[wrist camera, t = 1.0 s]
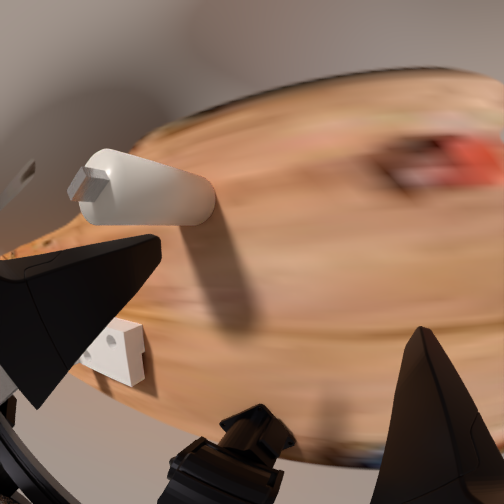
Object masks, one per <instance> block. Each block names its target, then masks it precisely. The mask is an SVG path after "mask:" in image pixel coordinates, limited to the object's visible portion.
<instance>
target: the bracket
mask: <svg viewBox="0 0 504 504" xmlns="http://www.w3.org/2000/svg"><path fill="white" fill-rule="evenodd" d="M143 352H145V347H144V338H143V328H142V324H138V323H134V322H131V321H127V320H123V319H119V318H116V317H114V319H113V320H112V321H111V322H110V323H109V324H108V325H107V326H106V328H105V329H104V330H103V331H102V332H101V333H100V334H99V336H98V337H97V338H96V339H95V340H94V341H93V343H92V344H91V345H90V346H89V347H88V348H87V350H86V351H85V352H84V353H83V354H82V355H81V357H80V358H79V359H78V360H77V361H76V363H75V364H78V363H81V364H83V365H85V366H87V367H89V368H91V369H93V370H95V371H97V372H99V373H101V374H103V375H106V376H108V377H110V378H112V379H114V380H116V381H119V382H121V383H123V384H126V385H128V386H130V387H133V386H134V385H136V384H137V383H139V382H141V381H142V380H144V379H145V376H144V369H143V361H142V353H143ZM75 364H74V365H75Z"/></svg>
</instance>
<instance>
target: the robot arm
mask: <svg viewBox="0 0 504 504" xmlns="http://www.w3.org/2000/svg"><path fill="white" fill-rule="evenodd" d="M161 259H162V252H161V240H160V238H159V237H158V236H155V235H152V234H146V235H140V236H135V237H129V238H123V239H118V240H112V241H107V242H102V243H96V244H91V245H86V246H81V247H76V248H71V249H66V250H63V251H62V250H61V251H56V252H51V253H46V254H40V255H34V256H28V257H22V258H16V259H10V260H0V504H31V502H32V503H33V504H81V503H80V502H79V501H78V500H77V499H76V498H74V497H73V496H72V495H71V494H70V493H69V492H68V491H67V490H66V489H65V488H64V487H63V486H62V485H61V484H60V483H59V482H58V481H57V480H56V479H55V478H54V477H53V476H52V475H51V474H50V473H49V472H48V471H47V470H46V469H45V468H44V467H43V465H42V464H41V463H40V462H39V461H38V460H37V459H36V458H35V456H34V455H33V454H32V453H31V452H30V451H29V449H28V448H27V447H26V446H25V444H24V443H23V442H22V441H21V439H20V438H19V437H18V435H17V434H16V433H15V431H14V430H13V429H12V428H13V427H14V425H15V413H16V402H17V399H16V398H15V396H14V395H13V393H14V392H15V391H16V390H18V389H19V390H20V391H21V392H22V394H23V395H24V396H25V397H26V398H27V399H28V401H29V402H30V403H31V404H32V405H33V406H34V407H35V409H36V410H38V409H39V408H40V407H41V405H42V404H43V403H44V402H45V400H46V399H47V398H48V396H49V395H50V394H51V393H52V391H53V390H54V389H55V387H56V386H57V385H58V384H59V383H60V381H61V380H62V379H63V378H64V376H65V375H66V374H67V373H68V370H70V369H71V367H72V366H73V365H74V364H75V363H76V361H77V360H78V359H79V358H80V357H81V355H82V354H83V353H84V352H85V351H86V350H87V348H88V347H89V346H90V345H91V344H92V343H93V341H94V340H95V339H96V338H97V337H98V336H99V334H100V333H101V332H102V331H103V330H104V329H105V328H106V326H107V325H108V324H109V323H110V322H111V321H112V320H113V319H114V317H115V316H116V315H117V314H118V313H119V312H120V311H121V310H122V309H123V307H124V306H125V305H126V304H127V303H128V302H129V301H130V300H131V299H132V298H133V297H134V295H135V294H136V293H137V292H138V291H139V289H140V288H141V287H142V286H143V284H144V283H145V282H146V280H147V279H148V278H149V276H150V275H151V274H152V273H153V271H154V270H155V269H156V267H157V266H158V265H159V263H160V262H161ZM259 408H261V409H259ZM224 424H225V425H224ZM219 425H220V426H221V428H222V429H223V430H224V431H225V432H226V434H225V435H224V437H223V438H222V439H221V441H220V442H219V443H218V445H216V444H214V443H212V442H210V441H208V440H207V439H206V438H204V437H202V436H201V437H200V438H199V439H198V440H195V441H194V442H193V443H192V444H190V445H189V446H187V447H186V448H185V449H184V450H182V451H181V452H180V453H178V454H177V456H176V457H173V458H171V459H170V461H169V464H170V469H169V472H168V475H167V479H168V480H170V481H169V483H168V485H167V486H166V488H165V490H164V492H163V493H162V495H161V496H160V497H159V499H158V501H157V504H273V503H274V501H275V499H276V497H277V494H278V492H279V489H280V485H281V482H282V479H283V475H284V471H282V470H276V469H273V466H274V464H275V462H276V459H277V458H278V457H279V456H280V454H281V451H282V450H284V449H286V448H289V447H292V446H294V445H295V442H296V441H295V439H294V438H293V437H292V436H291V435H290V434H289V432H288V431H287V430H286V429H285V428H284V427H283V426H282V424H281V423H280V422H279V421H278V420H277V419H276V418H275V417H274V416H273V415H272V414H271V413H270V411H269V410H268V409H267V408H266V407H265V406H264V405H263V404H257V405H255V406H253V407H251V408H249V409H247V410H244V411H242V412H240V413H238V414H236V415H233V416H231V417H229V418H226V419H224V420H222V421H221V422H220V423H219ZM290 442H292V443H290ZM18 488H20V489H21V491H22V492H23V493H24V494H25V496H26V497H27V498H28V499H29V500H30V501H31V502H29V501H28V500H27V499H26V498H25V497H24V496H23V495H21V494H20V493H18V492H17V489H18ZM370 504H504V459H503V457H502V455H501V453H500V451H499V450H498V448H497V446H496V444H495V442H494V440H493V438H492V437H491V435H490V433H489V431H488V429H487V427H486V425H485V423H484V421H483V419H482V417H481V415H480V413H479V412H478V409H477V407H476V405H475V403H474V401H473V399H472V398H471V396H470V394H469V392H468V390H467V388H466V387H465V385H464V383H463V381H462V379H461V378H460V376H459V374H458V373H457V371H456V369H455V367H454V366H453V364H452V362H451V361H450V359H449V358H448V356H447V354H446V353H445V351H444V349H443V348H442V346H441V345H440V343H439V342H438V340H437V338H436V337H435V335H434V334H433V332H432V331H431V330H430V329H429V328H425V327H422V326H419V327H418V328H417V329H416V330H415V332H414V333H413V335H412V336H411V338H410V340H409V341H408V343H407V344H406V346H405V349H404V353H403V359H402V363H401V368H400V373H399V377H398V381H397V386H396V390H395V395H394V402H393V408H392V414H391V420H390V426H389V431H388V436H387V441H386V446H385V450H384V455H383V459H382V463H381V467H380V471H379V475H378V479H377V482H376V486H375V489H374V493H373V496H372V499H371V502H370Z"/></svg>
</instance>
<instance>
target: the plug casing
mask: <svg viewBox="0 0 504 504" xmlns="http://www.w3.org/2000/svg"><path fill="white" fill-rule="evenodd" d="M67 193H68V195H69V197H70V200H71V201H79V206H80V209H81V212H82V214H83V216H84V217H85V219H86V220H87V221H88V222H89V223H91V224H93V225H174V226H195V225H199V224H201V223H203V222H205V221H206V220H207V219H208V218H209V217H210V215H211V214H212V212H213V209H214V206H215V200H216V197H215V191H214V188H213V186H212V184H211V183H210V182H209V181H208V180H207V179H206V178H204V177H202V176H199V175H196V174H193V173H190V172H187V171H183V170H180V169H177V168H174V167H171V166H167V165H164V164H161V163H157V162H154V161H151V160H147V159H144V158H140V157H137V156H134V155H130V154H126V153H122V152H119V151H116V150H112V149H103V150H100V151H98V152H97V153H95V154H94V155H93V156H92V157H91V158H90V160H89V161H88V162H87V164H86V165H85V167H81V168H80V169H79V171H78V173H77V174H76V176H75V178H74V179H73V181H72V182H71V184H70V186H69V188H68V189H67Z"/></svg>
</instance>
